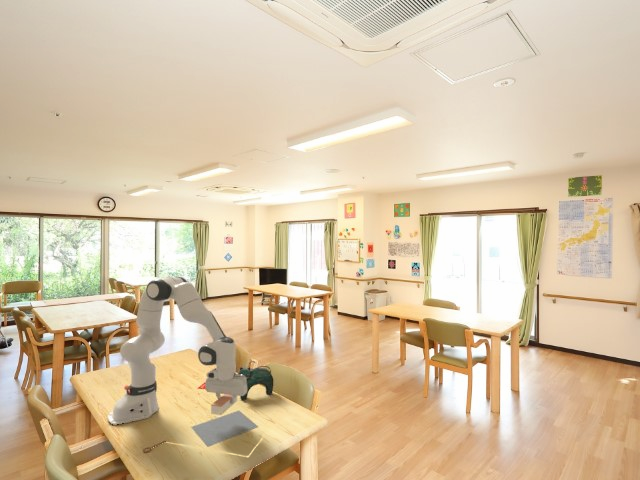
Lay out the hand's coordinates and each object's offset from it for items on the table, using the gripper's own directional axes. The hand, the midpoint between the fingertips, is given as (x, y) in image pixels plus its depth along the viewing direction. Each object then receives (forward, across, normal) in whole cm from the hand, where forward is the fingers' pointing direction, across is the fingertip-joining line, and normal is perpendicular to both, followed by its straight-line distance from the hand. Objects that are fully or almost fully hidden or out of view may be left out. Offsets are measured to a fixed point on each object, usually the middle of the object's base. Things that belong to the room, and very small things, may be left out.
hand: (226, 402), depth 158 cm
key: (+11, +21, +19) cm, 30 cm away
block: (-1, 0, +9) cm, 9 cm away
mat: (+11, 0, +2) cm, 11 cm away
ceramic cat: (+11, +1, -32) cm, 34 cm away
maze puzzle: (+12, +30, -44) cm, 54 cm away
